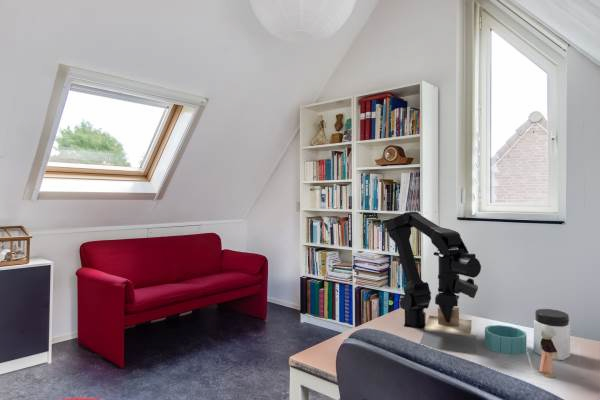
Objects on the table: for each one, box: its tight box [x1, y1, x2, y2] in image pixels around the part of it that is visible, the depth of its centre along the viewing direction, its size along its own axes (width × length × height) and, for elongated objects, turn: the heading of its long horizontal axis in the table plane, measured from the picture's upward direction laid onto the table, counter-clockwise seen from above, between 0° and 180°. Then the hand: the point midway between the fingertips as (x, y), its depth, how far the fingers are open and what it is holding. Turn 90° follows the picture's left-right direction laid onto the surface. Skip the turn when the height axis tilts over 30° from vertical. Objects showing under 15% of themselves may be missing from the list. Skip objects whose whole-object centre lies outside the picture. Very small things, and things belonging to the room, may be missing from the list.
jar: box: [533, 308, 571, 361], centre depth 116 cm, size 9×8×12 cm
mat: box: [419, 329, 477, 355], centre depth 126 cm, size 16×16×1 cm
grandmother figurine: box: [537, 325, 558, 378], centre depth 103 cm, size 8×4×13 cm, turn 5°
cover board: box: [424, 306, 472, 336], centre depth 126 cm, size 13×13×6 cm
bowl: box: [484, 324, 527, 355], centre depth 121 cm, size 11×11×5 cm
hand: (448, 320), depth 126 cm, fingers closed on cover board, 3 cm apart
